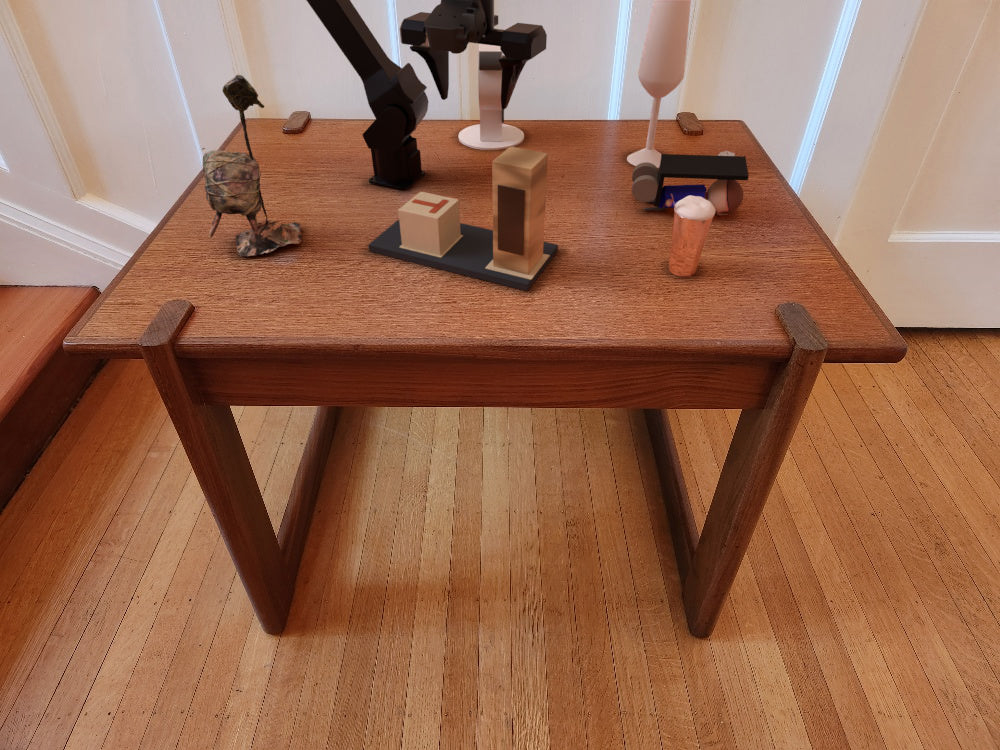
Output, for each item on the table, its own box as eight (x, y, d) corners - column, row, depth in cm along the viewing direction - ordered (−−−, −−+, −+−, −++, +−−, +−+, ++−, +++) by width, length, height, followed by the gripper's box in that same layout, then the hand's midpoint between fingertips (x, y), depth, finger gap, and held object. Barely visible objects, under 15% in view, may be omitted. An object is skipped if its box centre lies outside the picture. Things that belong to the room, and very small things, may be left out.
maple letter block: (492, 266, 77) (491, 161, 68) (509, 248, 80) (510, 146, 72) (527, 275, 75) (530, 169, 67) (543, 256, 79) (548, 153, 70)
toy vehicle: (630, 225, 90) (743, 224, 86) (631, 173, 85) (751, 170, 82) (631, 204, 95) (738, 201, 91) (632, 154, 90) (745, 149, 87)
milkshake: (652, 261, 80) (665, 185, 73) (694, 259, 80) (711, 183, 74) (662, 281, 76) (677, 203, 70) (705, 278, 77) (725, 201, 70)
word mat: (369, 251, 82) (367, 243, 81) (409, 217, 89) (408, 210, 88) (527, 291, 75) (528, 283, 74) (557, 251, 82) (558, 243, 81)
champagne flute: (677, 162, 103) (709, -10, 87) (647, 172, 100) (674, -4, 84) (648, 148, 107) (673, -18, 91) (618, 157, 104) (638, -13, 88)
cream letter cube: (402, 246, 81) (397, 208, 77) (423, 226, 84) (420, 190, 81) (440, 255, 79) (437, 217, 75) (460, 235, 83) (459, 198, 79)
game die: (732, 168, 101) (737, 149, 99) (737, 178, 98) (741, 159, 96) (710, 167, 101) (714, 148, 99) (713, 177, 98) (717, 158, 96)
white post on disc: (524, 151, 106) (527, 53, 96) (456, 151, 106) (451, 53, 96) (523, 125, 115) (525, 33, 105) (460, 124, 115) (456, 32, 105)
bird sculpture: (222, 230, 86) (171, 72, 73) (308, 225, 87) (273, 68, 74) (209, 262, 80) (151, 95, 67) (302, 256, 81) (263, 90, 68)
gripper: (368, -23, 75) (384, 112, 86) (513, -10, 69) (512, 134, 80) (417, -38, 83) (426, 88, 93) (551, -27, 77) (545, 106, 87)
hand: (474, 103), depth 88 cm, fingers open, 9 cm apart
